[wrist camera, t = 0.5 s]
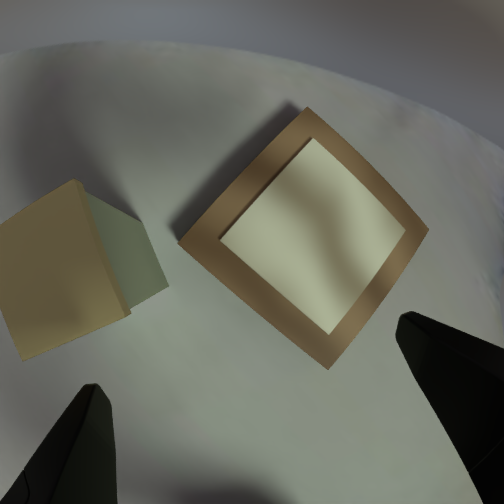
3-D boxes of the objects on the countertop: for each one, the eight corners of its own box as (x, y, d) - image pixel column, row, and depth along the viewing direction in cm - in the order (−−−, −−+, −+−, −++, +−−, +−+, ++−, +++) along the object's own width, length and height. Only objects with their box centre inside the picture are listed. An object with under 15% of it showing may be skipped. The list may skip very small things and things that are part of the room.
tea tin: (171, 287, 22) (125, 317, 10) (110, 314, 21) (22, 361, 9) (143, 220, 22) (74, 178, 10) (84, 249, 21) (-20, 239, 9)
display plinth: (319, 362, 23) (329, 371, 21) (180, 245, 22) (176, 243, 20) (415, 231, 24) (431, 229, 22) (300, 117, 23) (308, 104, 21)
